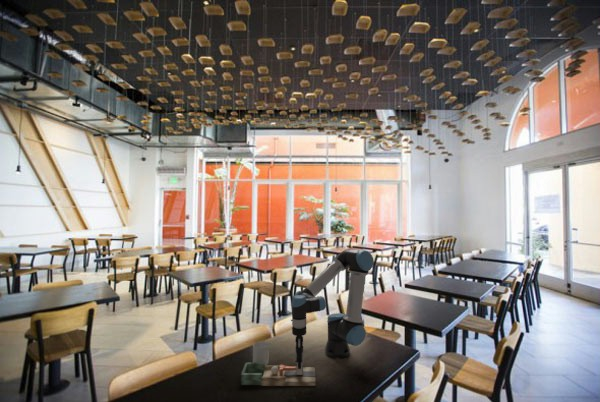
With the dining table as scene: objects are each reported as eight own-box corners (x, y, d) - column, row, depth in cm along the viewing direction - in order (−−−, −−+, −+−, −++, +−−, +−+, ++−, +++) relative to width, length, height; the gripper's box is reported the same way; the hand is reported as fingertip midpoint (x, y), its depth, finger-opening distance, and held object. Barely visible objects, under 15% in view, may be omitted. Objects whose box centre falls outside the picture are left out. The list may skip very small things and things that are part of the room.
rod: (303, 370, 154) (303, 344, 155) (303, 375, 149) (303, 348, 150) (280, 370, 154) (280, 344, 155) (279, 375, 149) (279, 348, 150)
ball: (278, 372, 154) (278, 364, 154) (278, 376, 150) (278, 368, 150) (271, 372, 154) (271, 364, 154) (270, 376, 150) (270, 368, 150)
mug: (269, 367, 163) (269, 347, 164) (253, 369, 161) (253, 348, 161) (266, 357, 174) (266, 338, 175) (251, 359, 172) (252, 340, 173)
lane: (314, 371, 158) (314, 361, 159) (315, 385, 144) (315, 375, 145) (246, 371, 159) (246, 361, 159) (240, 385, 145) (240, 375, 145)
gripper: (292, 320, 162) (293, 364, 160) (291, 332, 145) (291, 380, 143) (306, 320, 162) (306, 364, 160) (306, 332, 145) (306, 380, 143)
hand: (299, 371), depth 152 cm, fingers closed on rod, 4 cm apart
